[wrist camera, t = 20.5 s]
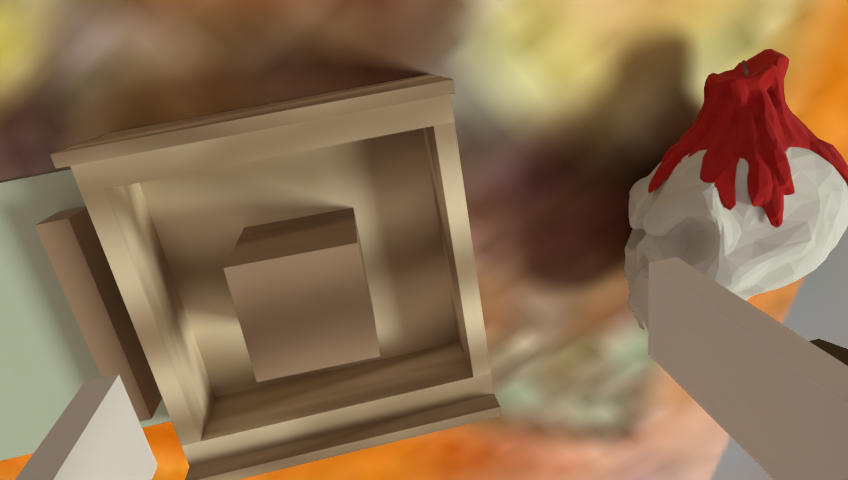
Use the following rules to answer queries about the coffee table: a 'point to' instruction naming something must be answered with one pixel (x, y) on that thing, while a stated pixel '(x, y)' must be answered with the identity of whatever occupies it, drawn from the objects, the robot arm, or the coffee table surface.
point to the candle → (739, 191)
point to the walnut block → (302, 294)
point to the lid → (59, 314)
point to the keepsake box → (281, 200)
